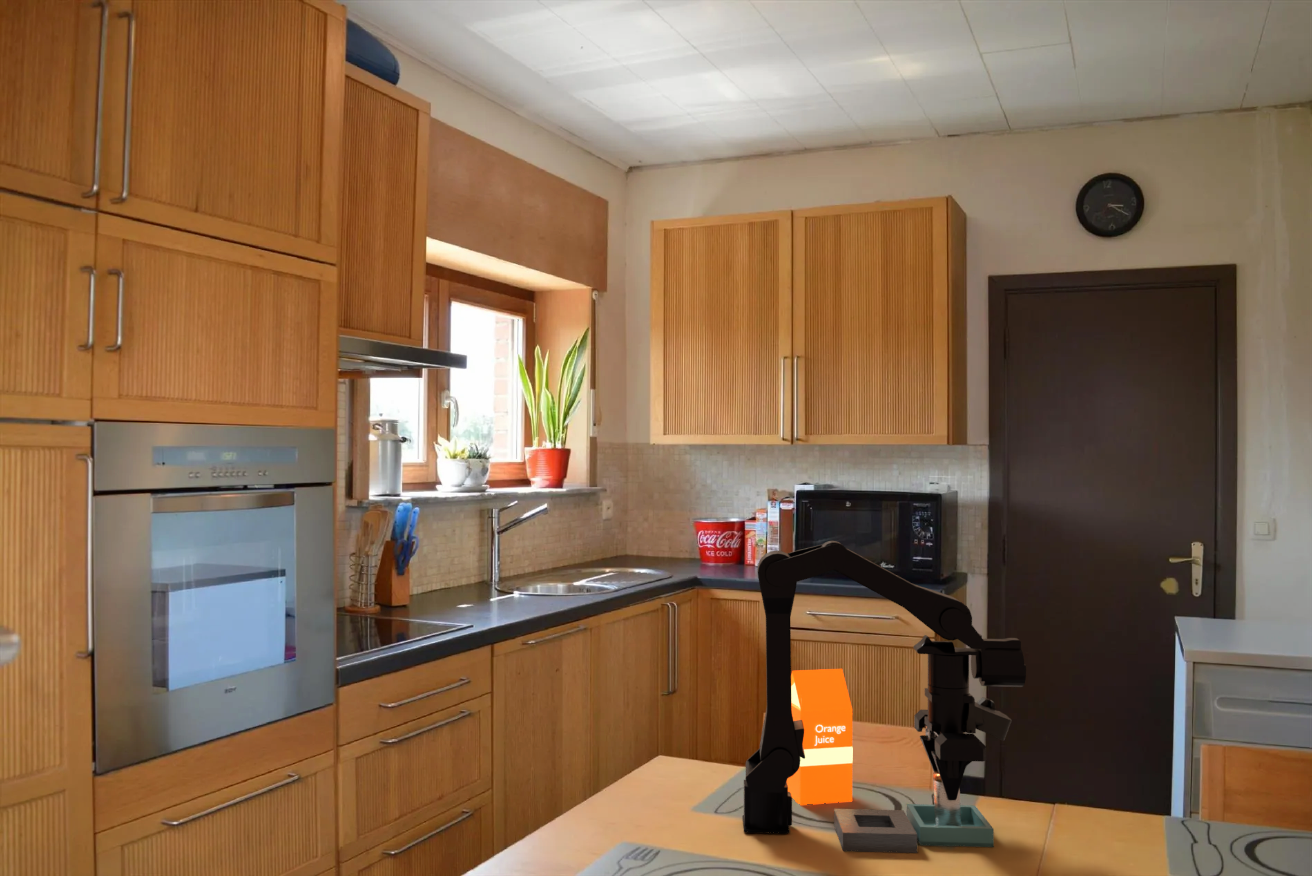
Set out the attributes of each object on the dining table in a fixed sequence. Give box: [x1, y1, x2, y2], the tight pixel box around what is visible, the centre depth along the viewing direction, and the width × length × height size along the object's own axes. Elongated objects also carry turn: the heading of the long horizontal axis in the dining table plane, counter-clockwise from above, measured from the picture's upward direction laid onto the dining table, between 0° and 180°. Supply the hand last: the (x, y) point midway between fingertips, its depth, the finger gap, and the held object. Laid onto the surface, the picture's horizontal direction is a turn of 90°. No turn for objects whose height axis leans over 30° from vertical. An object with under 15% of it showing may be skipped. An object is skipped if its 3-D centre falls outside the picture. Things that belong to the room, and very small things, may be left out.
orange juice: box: [787, 668, 854, 806], centre depth 166 cm, size 8×9×20 cm
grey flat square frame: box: [833, 808, 918, 854], centre depth 147 cm, size 10×10×2 cm
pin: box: [932, 771, 961, 826], centre depth 149 cm, size 4×4×8 cm
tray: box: [906, 803, 995, 848], centre depth 149 cm, size 10×10×2 cm
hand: (948, 794), depth 149 cm, fingers open, 4 cm apart
